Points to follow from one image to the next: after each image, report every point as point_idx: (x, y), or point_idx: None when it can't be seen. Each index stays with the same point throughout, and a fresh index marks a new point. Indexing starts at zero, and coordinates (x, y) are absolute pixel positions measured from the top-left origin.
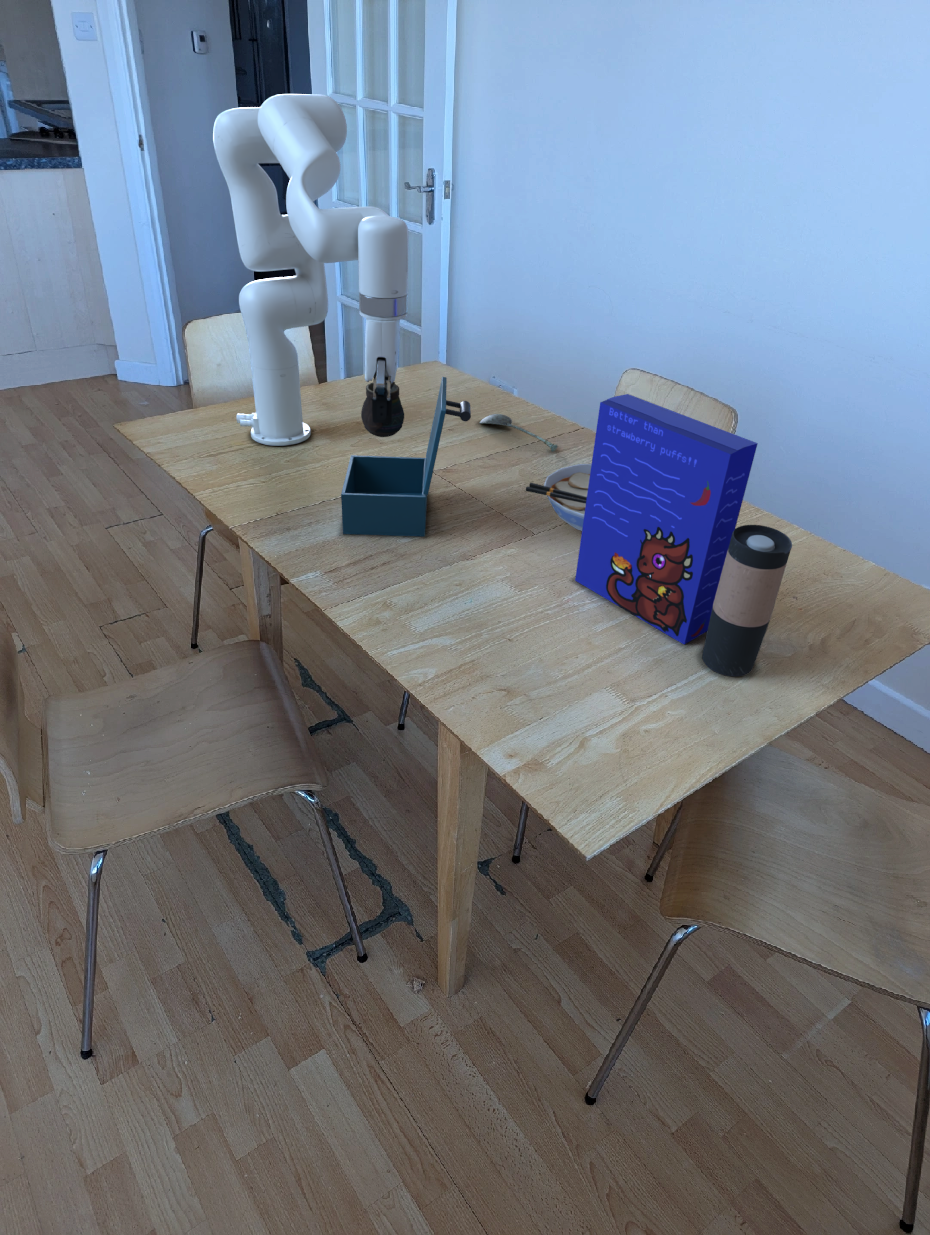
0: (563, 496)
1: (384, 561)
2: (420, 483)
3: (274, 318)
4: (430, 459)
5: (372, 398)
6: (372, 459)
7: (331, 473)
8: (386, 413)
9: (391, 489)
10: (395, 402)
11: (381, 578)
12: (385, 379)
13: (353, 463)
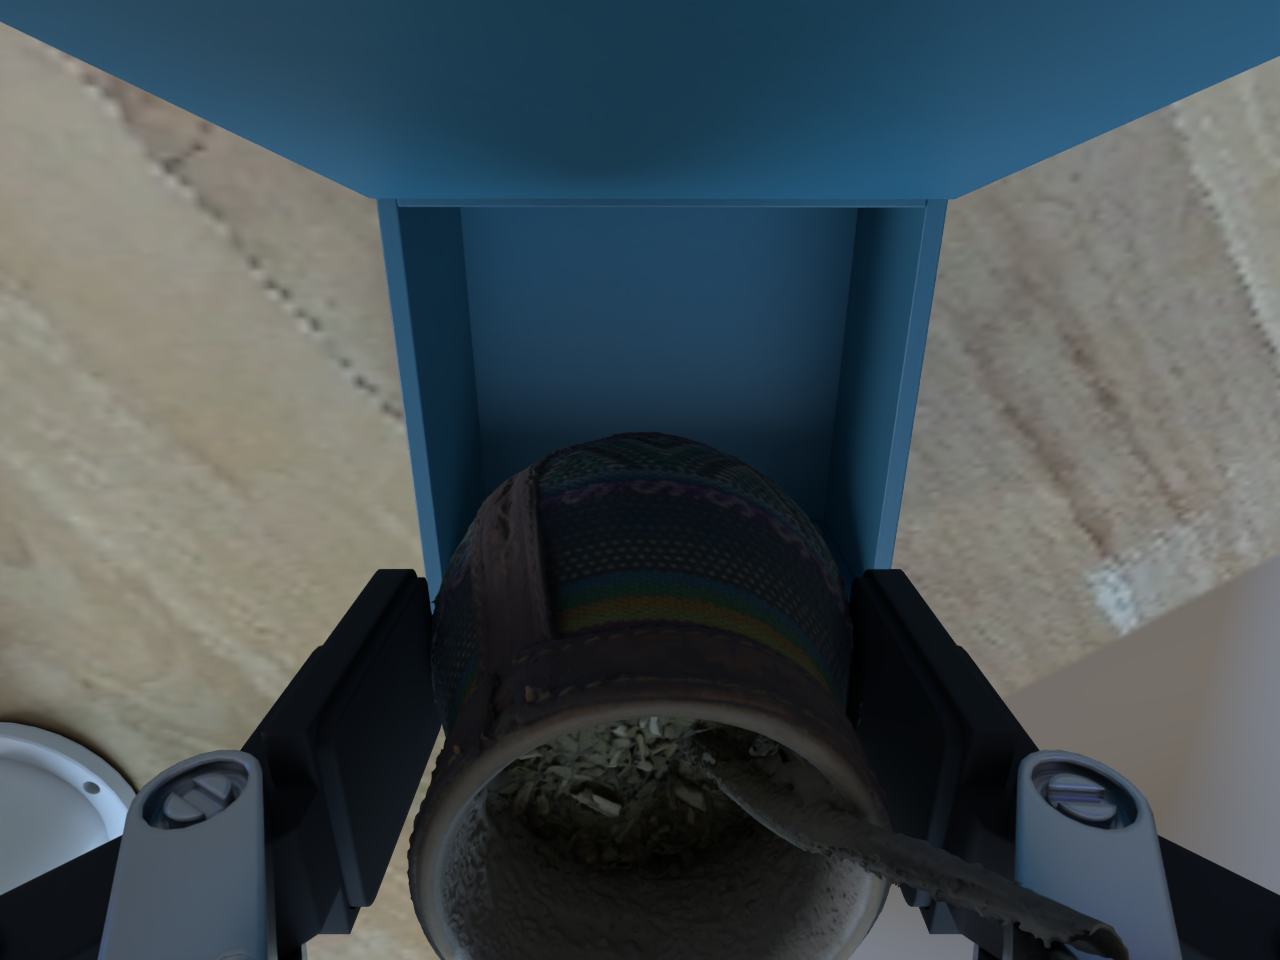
0: None
1: (1061, 357)
2: (447, 227)
3: None
4: (1070, 137)
5: (949, 933)
6: (438, 507)
7: (320, 612)
8: (984, 678)
9: (471, 369)
10: (777, 629)
11: (1190, 360)
12: (307, 879)
13: None
